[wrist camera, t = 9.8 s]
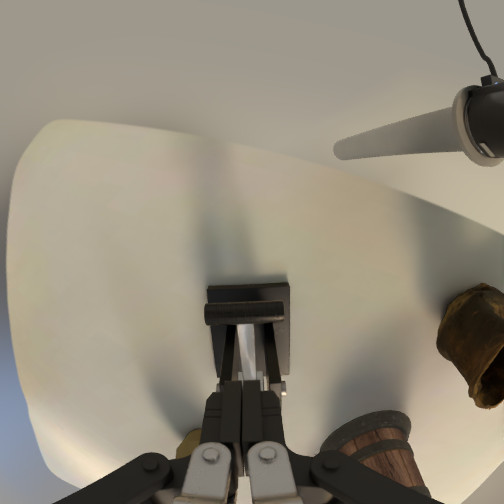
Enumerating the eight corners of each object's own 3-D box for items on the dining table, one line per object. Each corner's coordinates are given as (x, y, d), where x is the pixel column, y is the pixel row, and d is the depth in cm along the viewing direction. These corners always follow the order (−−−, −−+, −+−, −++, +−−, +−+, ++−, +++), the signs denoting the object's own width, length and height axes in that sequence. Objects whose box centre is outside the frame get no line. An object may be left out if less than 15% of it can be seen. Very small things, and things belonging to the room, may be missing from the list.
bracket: (208, 285, 34) (187, 345, 22) (288, 282, 34) (308, 341, 22) (217, 372, 37) (207, 446, 25) (288, 369, 37) (301, 442, 25)
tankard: (361, 401, 39) (406, 508, 20) (428, 418, 41) (475, 498, 22) (280, 481, 44) (288, 570, 25) (349, 490, 46) (369, 564, 27)
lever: (205, 293, 20) (202, 320, 18) (282, 290, 20) (286, 316, 18) (225, 387, 27) (224, 409, 25) (278, 385, 27) (280, 407, 25)
